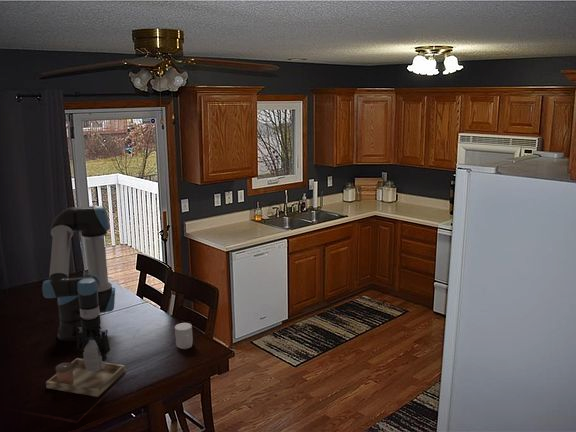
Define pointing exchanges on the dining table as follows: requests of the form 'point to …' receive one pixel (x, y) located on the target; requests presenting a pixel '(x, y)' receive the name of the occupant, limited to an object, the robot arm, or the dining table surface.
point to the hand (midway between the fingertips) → (95, 366)
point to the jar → (65, 373)
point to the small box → (92, 356)
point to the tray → (88, 379)
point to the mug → (183, 335)
